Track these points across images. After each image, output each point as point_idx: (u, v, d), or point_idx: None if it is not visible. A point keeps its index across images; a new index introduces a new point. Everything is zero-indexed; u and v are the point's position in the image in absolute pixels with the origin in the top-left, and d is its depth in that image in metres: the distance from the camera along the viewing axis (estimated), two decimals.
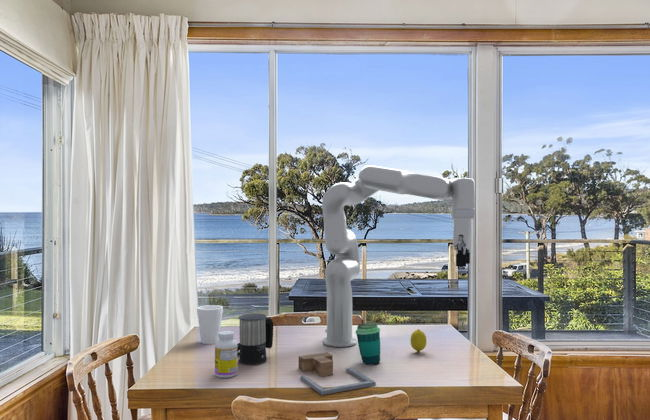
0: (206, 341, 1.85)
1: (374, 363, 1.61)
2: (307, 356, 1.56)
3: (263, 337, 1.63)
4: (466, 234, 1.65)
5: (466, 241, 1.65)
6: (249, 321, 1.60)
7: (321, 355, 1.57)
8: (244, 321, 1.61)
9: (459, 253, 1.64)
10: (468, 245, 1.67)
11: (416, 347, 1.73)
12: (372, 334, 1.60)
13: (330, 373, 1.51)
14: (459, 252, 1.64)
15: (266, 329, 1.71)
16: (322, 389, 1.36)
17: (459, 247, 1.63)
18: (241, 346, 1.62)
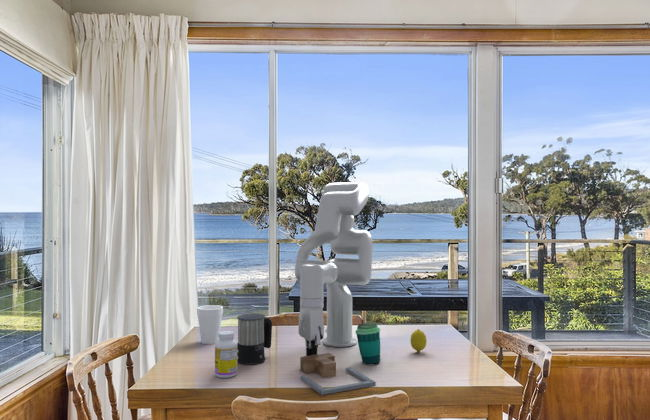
0: (206, 341, 1.85)
1: (374, 363, 1.61)
2: (309, 357, 1.55)
3: (261, 337, 1.63)
4: (323, 325, 1.56)
5: (323, 333, 1.56)
6: (247, 321, 1.61)
7: (323, 356, 1.56)
8: (242, 321, 1.61)
9: None
10: (321, 335, 1.58)
11: (416, 347, 1.73)
12: (372, 334, 1.60)
13: (333, 374, 1.50)
14: (313, 347, 1.58)
15: (265, 329, 1.71)
16: (322, 389, 1.36)
17: (316, 345, 1.56)
18: (239, 346, 1.62)
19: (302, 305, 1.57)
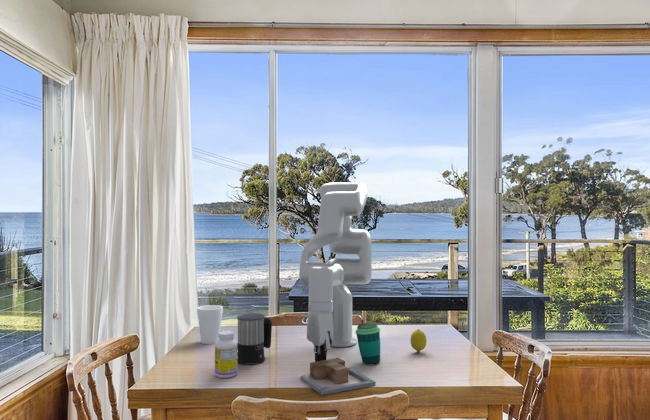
0: (206, 341, 1.85)
1: (374, 363, 1.61)
2: (319, 363, 1.49)
3: (261, 337, 1.63)
4: (332, 330, 1.51)
5: (332, 337, 1.50)
6: (247, 321, 1.61)
7: (333, 361, 1.51)
8: (242, 321, 1.61)
9: None
10: (330, 340, 1.53)
11: (416, 347, 1.73)
12: (372, 334, 1.60)
13: (345, 380, 1.45)
14: (322, 352, 1.52)
15: (264, 329, 1.71)
16: (322, 389, 1.36)
17: (325, 350, 1.51)
18: (239, 346, 1.62)
19: (311, 309, 1.52)
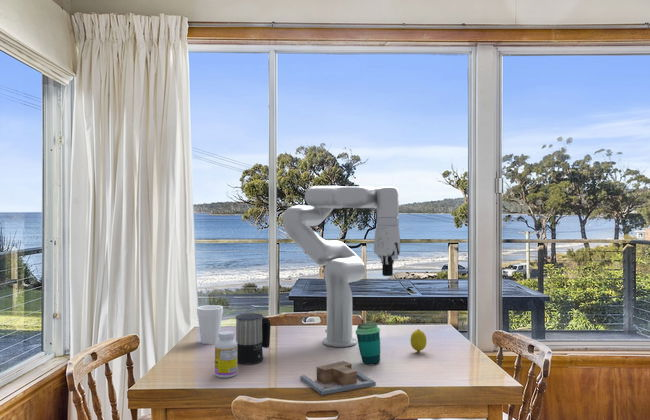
0: (206, 341, 1.85)
1: (374, 363, 1.61)
2: (326, 367, 1.46)
3: (259, 337, 1.63)
4: (399, 242, 1.70)
5: (399, 248, 1.70)
6: (245, 321, 1.61)
7: (340, 365, 1.48)
8: (240, 321, 1.61)
9: (389, 264, 1.72)
10: (396, 252, 1.72)
11: (416, 347, 1.73)
12: (372, 334, 1.60)
13: None
14: (390, 262, 1.71)
15: (263, 329, 1.71)
16: (322, 389, 1.36)
17: (393, 260, 1.70)
18: (238, 345, 1.63)
19: (380, 224, 1.71)
